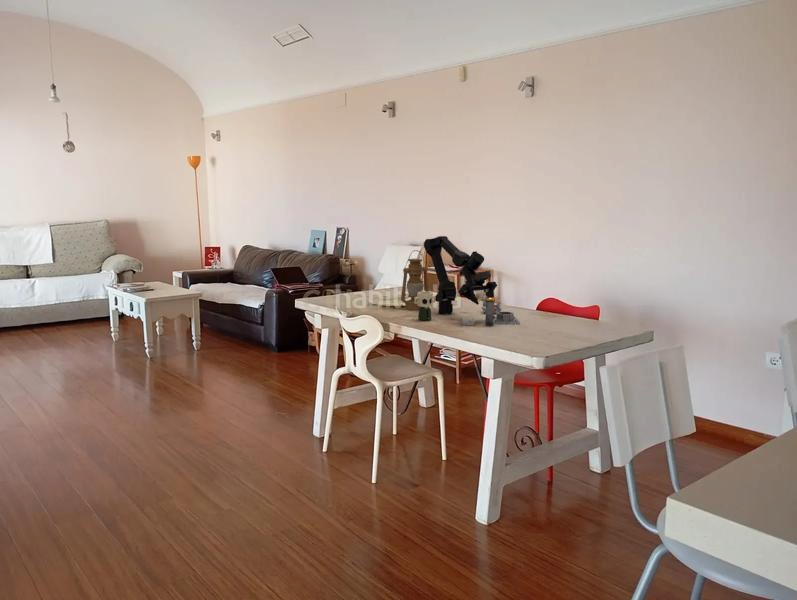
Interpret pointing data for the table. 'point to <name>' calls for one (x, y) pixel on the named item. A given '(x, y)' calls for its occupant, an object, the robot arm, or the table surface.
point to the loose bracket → (467, 321)
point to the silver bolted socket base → (505, 318)
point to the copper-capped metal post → (489, 311)
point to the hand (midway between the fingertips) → (486, 303)
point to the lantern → (414, 282)
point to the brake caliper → (496, 307)
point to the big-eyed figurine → (424, 304)
